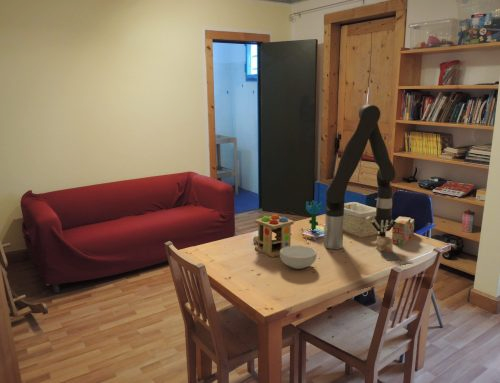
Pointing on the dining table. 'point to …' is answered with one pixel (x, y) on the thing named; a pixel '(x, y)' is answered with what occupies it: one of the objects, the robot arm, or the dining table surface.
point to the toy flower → (313, 212)
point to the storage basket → (359, 219)
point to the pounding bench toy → (265, 234)
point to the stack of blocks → (402, 230)
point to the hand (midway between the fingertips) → (382, 238)
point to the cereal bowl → (298, 256)
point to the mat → (390, 256)
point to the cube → (384, 244)
